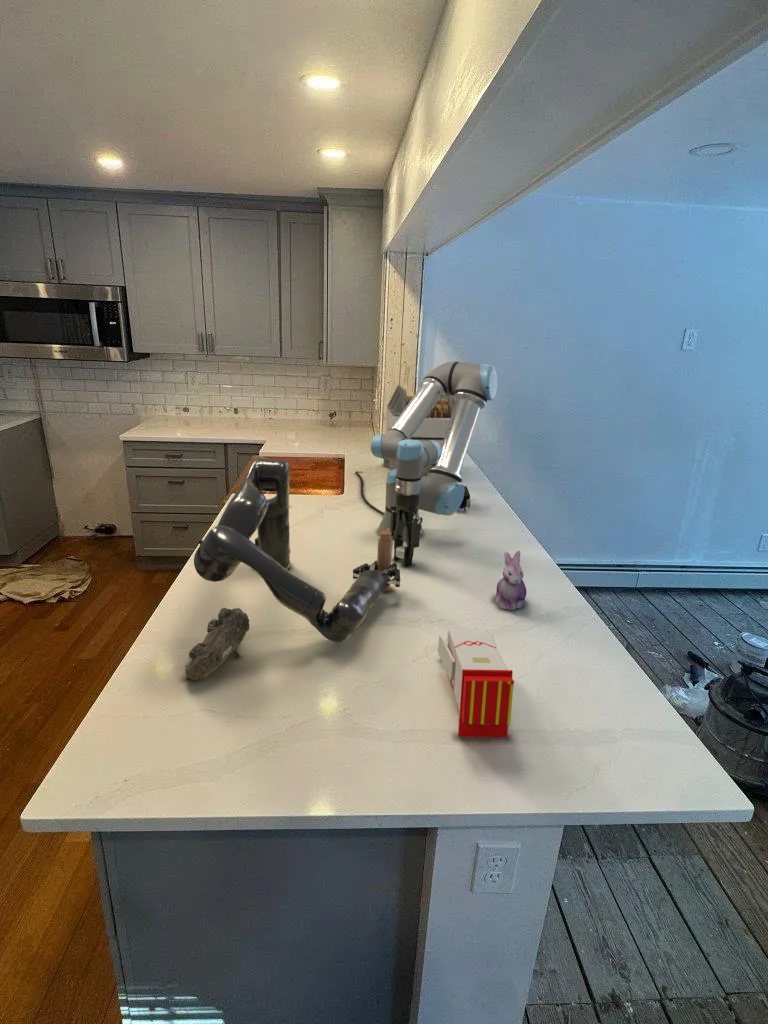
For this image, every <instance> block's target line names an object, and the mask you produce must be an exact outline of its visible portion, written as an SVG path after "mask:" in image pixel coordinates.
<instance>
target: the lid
mask: <svg viewBox="0 0 768 1024" xmlns="http://www.w3.org/2000/svg"><path fill="white" fill-rule="evenodd" d="M406 546H407V545H403V546H399V547H397V548H396V557H398V558H401V560H404V552H405V547H406Z"/></svg>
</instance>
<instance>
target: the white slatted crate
mask: <svg viewBox="0 0 768 1024" xmlns="http://www.w3.org/2000/svg"><path fill="white" fill-rule="evenodd" d="M407 394H408V393H407V390H406V389H404V388H403V387H402V385H399V384H398V385H397V386H396V388H395V390H394V392H393V394H392V395H391V398H390V400H389V402H388V404H387V405H386V413H385V414H386V415H385V423H386V428H385V434H386V433H387V432H388V430H389V429H390V428H391V426H392V425H393V424H394V422H395V421H396V420H397V418H398V417H399V416H400V414H401V413H402V412H403V410H404V409H405V408H406V406H407V405H408V404H409V402H410V401H411V400H412V398H413V397H414V395H412V396H411V395H407ZM455 403H456V402H455V400H454V399H453V395H446V396H444V398H443V399H442V400H440V401H437V402H436V404H435V405H434V407H433V408H432V410H431V411H430V412H429V414H428V415H427V417H426V418H425V419H424V421H423V422H422V424H421V425H420V426H419V428H418V429H417V431H416V432H415V433H414V435H413V436H412V438H411V439H410V440H418V441H422V442H424V441H427V440H433V441H436V442H437V443H438V444H439V445H440V446H442V443H443V440H444V437H445V434H446V431H447V428H448V425H449V422H450V418H451V415H452V412H453V409H454V406H455ZM435 465H436V463H435V464H433V465H431V467H435ZM383 466H384V467H388V468H389V472H390V471H391V470H393V469H396V467H397V461H393V460H387V459H383ZM461 472H462V469H461V470H460V475H461Z"/></svg>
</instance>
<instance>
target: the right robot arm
mask: <svg viewBox="0 0 768 1024" xmlns="http://www.w3.org/2000/svg"><path fill="white" fill-rule="evenodd" d="M497 391H498V375H497V371H496V369H495V367H494V366H493V365H490V364H486V363H474V362H463V361H457V360H456V361H455V360H454V361H453V360H451V361H447V362H444V363H442V364H440V365H437V366H436V367H434V368H433V369H432V370H431V371H429V372H428V373H427V374H426V375H425V376H424V377H423V378H422V380H421V381H420V383H419V388H418V390H417V391H416V393H415V394H414V395H413V396H414V397H413V398H412V400H411V401H410V402H409V404H408V405H407V406H406V408H405V409H404V410H403V412H402V413H401V414H400V416H399V417H398V418H397V420H396V421H395V422H394V424H393V425H392V426H391V428H390V429H389V430H388V432H387V433H386V432H385V433H381V434H380V433H379V434H375V435H374V436H373V437H372V440H371V442H370V451H371V454H372V456H374V457H375V458H378V459H382V460H384V459H387V460H393V461H397V467H396V469H393V470H391V471H390V470H389V471H388V472H387V475H386V480H385V504H384V505H385V507H384V508H385V509H384V511H382V510H380V509H378V508H377V507H376V506H373V505H372V504H371V503H370V502H369V501H368V500H367V499H366V497H365V495H364V491H363V490H364V482H363V477H362V476H361V475H360V473H359V472H358V471H355V472H354V473H355V474H356V475H357V477H358V478H359V480H360V496H361V499H362V500H363V501H364V503H365V504H366V505H367V506H368V507H370V508H371V509H372V510H374V511H376V512H377V513H378V514H380V515H382V519H381V522H379V525H378V533H380V531H383V530H387V531H390V532H391V533H392V534H391V539H392V540H393V561H394V562H396V561H399V560H402V559H401V558H398V557H396V548H397V547H399V546H404V541H406V545H405V546H406V547H405V552H404V559H403V567H404V568H407V567H411V566H413V558H414V553H415V549H417V548H419V547H420V543H421V542H420V541H421V540H420V539H421V536H422V535H423V525H422V523H423V520H424V519H423V517H422V516H420V515H419V510H420V511H424V512H429V513H432V514H436V515H438V516H439V515H442V516H447V517H448V516H449V517H450V516H452V515H454V514H455V513H456V512H458V511H457V510H458V508H459V507H460V505H461V503H462V501H463V498H464V492H465V488H464V486H465V485H464V483H462V481H463V478H462V477H461V474H460V470H461V471H462V467H463V464H464V461H465V457H466V454H467V451H468V448H469V445H470V442H471V438H472V435H473V433H474V429H475V425H476V423H477V419H478V417H479V413H480V410H482V409H484V408H485V407H486V406H487V403H488V401H489V402H490V401H493V400H494V399H495V398H496V395H497ZM446 395H453V399H454V400H455V402H456V403H455V406H454V409H453V412H452V415H451V418H450V422H449V425H448V428H447V431H446V434H445V437H444V440H443V443H442V446H440V445H439V444H438V443H437V442H436V441H433V440H427V441H424V442H422V441H418V440H410V439H411V438H412V436H413V435H414V433H415V432H416V431H417V429H418V428H419V426H420V425H421V424H422V422H423V421H424V419H425V418H426V417H427V415H428V414H429V412H430V411H431V410H432V408H433V407H434V405H435V404H436V402H437V401H440V400H442V399H443V398H444V396H446ZM435 463H436V465H435V466H432V465H433V464H435ZM429 467H431V468H429ZM425 468H429V469H428V472H427V475H424V474H422V471H423V469H425Z"/></svg>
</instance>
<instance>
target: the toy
mask: <svg viewBox="0 0 768 1024" xmlns="http://www.w3.org/2000/svg"><path fill="white" fill-rule="evenodd" d="M446 640H447V643H446V641H445V639H444V636H443V635H442V634H439V637H438V646H437V656H438V657H439V659H440V661H441V663H442V666H443V668H444V670H445V672H446V674H447V677H448V679H449V681H450V684H451V687H452V690H453V693H454V697H455V701H456V705H457V708H458V711H459V714H458V715H459V716H458V730H457V731H458V732H457V737H458V738H508V731H509V726H510V725H511V717H512V707H513V697H514V696H513V695H514V684H515V680H514V679H513V673H514V671H513V670H512V669H508V667H507V665H506V662H505V661H504V659H503V658H502V655H501V653H500V651H499V649H498V647H497V643H496V639H495V637H494V635H493V634H491V632H490V631H489V629H467V628H466V629H465V628H463V629H461V628H460V629H459V628H448V630H447V639H446Z"/></svg>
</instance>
